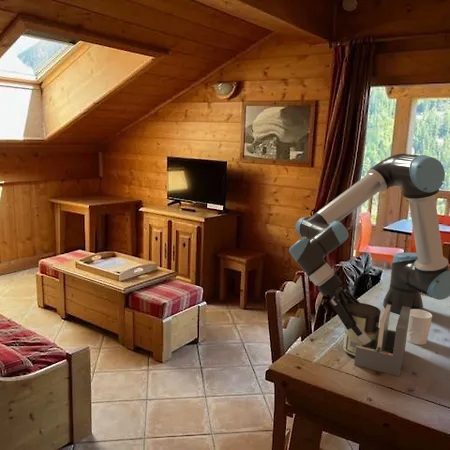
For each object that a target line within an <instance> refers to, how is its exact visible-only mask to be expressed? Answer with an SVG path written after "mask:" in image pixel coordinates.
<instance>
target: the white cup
mask: <svg viewBox="0 0 450 450" xmlns="http://www.w3.org/2000/svg"><path fill="white" fill-rule="evenodd" d="M432 319H433V313H430V311H426V310H424V309H423V310H420V309H410V316H409V323H408V331H407V338H406V342H408V343H411V344H413V345H419V346H423V345H426V344H427V342H428V338H429V335H430V329H431V326H432Z"/></svg>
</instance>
